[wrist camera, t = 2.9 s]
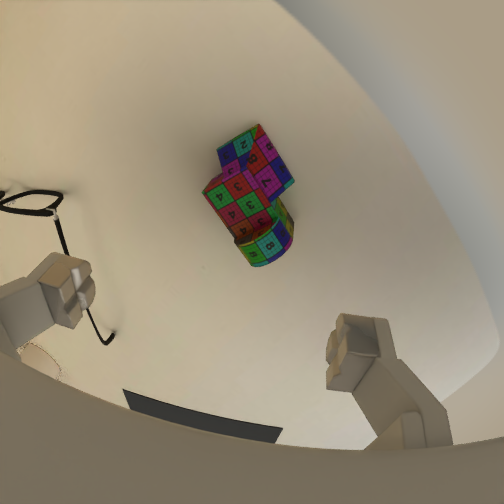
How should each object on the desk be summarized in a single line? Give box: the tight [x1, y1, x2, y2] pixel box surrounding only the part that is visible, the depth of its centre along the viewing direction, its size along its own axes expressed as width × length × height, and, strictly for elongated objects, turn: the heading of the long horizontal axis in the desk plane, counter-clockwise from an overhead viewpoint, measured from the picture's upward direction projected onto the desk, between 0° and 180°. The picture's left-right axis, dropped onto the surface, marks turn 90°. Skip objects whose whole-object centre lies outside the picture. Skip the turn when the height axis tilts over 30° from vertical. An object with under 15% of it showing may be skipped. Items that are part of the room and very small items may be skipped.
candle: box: [20, 344, 60, 379], centre depth 29 cm, size 6×6×15 cm
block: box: [202, 124, 294, 267], centre depth 16 cm, size 6×4×3 cm
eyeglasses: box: [0, 190, 115, 345], centre depth 23 cm, size 16×16×4 cm
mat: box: [123, 390, 283, 444], centre depth 37 cm, size 20×14×1 cm
